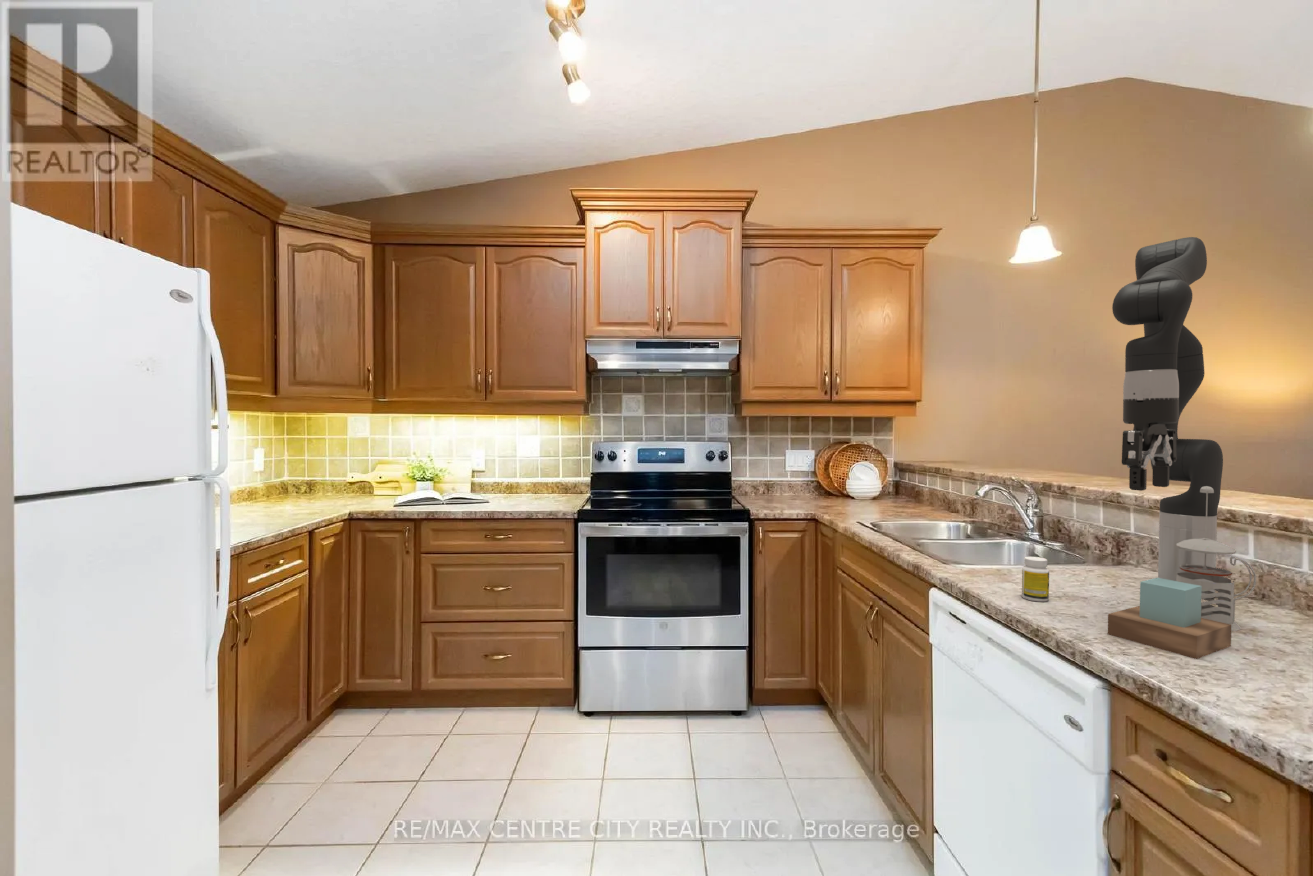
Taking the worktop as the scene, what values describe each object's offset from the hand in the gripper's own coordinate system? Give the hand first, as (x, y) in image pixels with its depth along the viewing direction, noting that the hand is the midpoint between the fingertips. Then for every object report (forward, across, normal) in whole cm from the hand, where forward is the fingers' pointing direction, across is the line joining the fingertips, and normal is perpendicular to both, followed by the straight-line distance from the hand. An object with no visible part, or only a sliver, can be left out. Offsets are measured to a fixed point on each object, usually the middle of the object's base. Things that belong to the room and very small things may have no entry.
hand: (1149, 488), depth 103 cm
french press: (+25, -14, +4) cm, 29 cm away
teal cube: (+21, +4, +5) cm, 22 cm away
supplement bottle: (+25, 0, -19) cm, 32 cm away
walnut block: (+25, +4, +4) cm, 26 cm away
